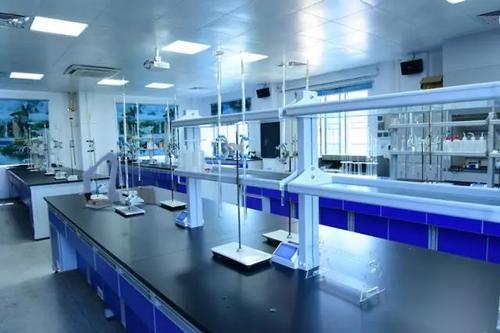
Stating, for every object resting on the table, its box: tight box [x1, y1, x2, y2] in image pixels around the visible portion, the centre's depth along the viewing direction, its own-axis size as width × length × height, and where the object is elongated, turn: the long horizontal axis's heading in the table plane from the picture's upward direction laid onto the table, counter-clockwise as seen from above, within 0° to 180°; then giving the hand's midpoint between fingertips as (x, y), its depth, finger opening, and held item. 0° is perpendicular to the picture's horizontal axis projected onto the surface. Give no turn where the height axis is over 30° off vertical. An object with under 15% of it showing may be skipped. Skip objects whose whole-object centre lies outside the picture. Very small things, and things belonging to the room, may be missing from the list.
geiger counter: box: [134, 185, 157, 205], centre depth 298 cm, size 14×6×25 cm
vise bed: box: [85, 199, 114, 209], centre depth 288 cm, size 14×16×5 cm
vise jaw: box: [88, 198, 98, 205], centre depth 291 cm, size 12×9×3 cm
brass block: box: [96, 197, 106, 202], centre depth 287 cm, size 4×5×5 cm
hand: (88, 201), depth 296 cm, fingers closed
